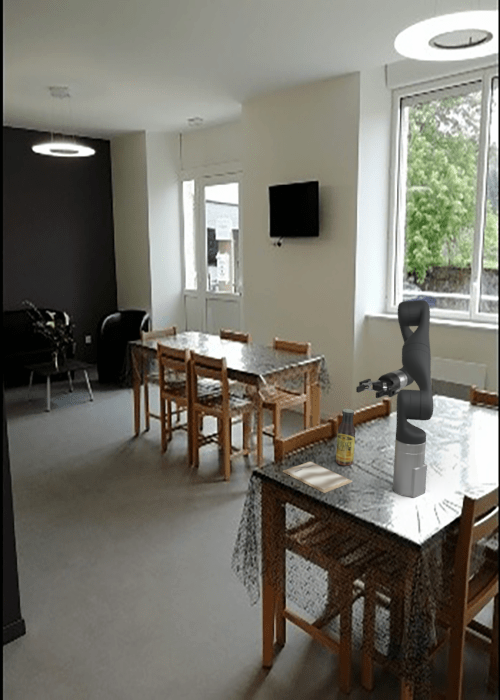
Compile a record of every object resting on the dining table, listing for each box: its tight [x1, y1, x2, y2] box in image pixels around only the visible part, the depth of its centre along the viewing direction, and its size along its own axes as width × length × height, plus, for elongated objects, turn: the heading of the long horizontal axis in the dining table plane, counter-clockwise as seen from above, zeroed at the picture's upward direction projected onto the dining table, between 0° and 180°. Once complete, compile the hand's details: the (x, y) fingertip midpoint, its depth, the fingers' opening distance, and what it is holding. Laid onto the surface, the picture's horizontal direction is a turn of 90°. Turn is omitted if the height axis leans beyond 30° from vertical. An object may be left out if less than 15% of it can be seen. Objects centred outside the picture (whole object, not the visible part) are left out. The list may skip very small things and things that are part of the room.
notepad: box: [282, 461, 353, 494], centre depth 189 cm, size 20×13×1 cm, turn 38°
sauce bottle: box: [335, 408, 356, 467], centre depth 198 cm, size 7×6×20 cm
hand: (366, 392), depth 201 cm, fingers open, 8 cm apart
